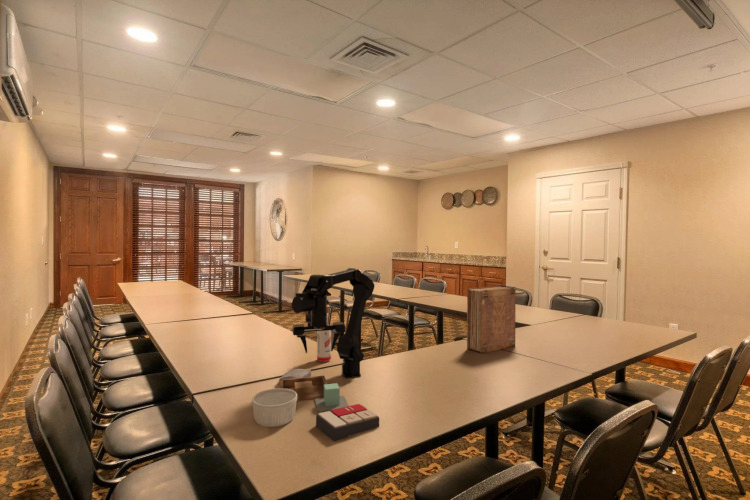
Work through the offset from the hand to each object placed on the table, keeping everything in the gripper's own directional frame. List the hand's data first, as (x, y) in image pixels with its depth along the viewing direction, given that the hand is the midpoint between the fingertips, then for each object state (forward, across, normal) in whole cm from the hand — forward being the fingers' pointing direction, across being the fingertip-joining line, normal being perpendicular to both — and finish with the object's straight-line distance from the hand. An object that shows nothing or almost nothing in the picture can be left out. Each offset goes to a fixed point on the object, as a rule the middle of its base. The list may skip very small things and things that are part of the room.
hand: (319, 351), depth 142 cm
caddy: (+13, +6, +4) cm, 15 cm away
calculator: (+14, -4, +32) cm, 35 cm away
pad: (+13, -2, +16) cm, 21 cm away
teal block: (+13, -2, +16) cm, 20 cm away
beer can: (+13, -6, -32) cm, 35 cm away
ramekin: (+13, +16, +22) cm, 30 cm away
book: (+13, -90, -31) cm, 96 cm away
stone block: (+14, +8, -9) cm, 18 cm away
